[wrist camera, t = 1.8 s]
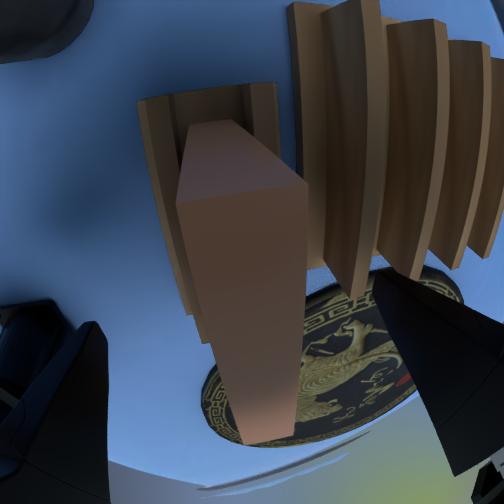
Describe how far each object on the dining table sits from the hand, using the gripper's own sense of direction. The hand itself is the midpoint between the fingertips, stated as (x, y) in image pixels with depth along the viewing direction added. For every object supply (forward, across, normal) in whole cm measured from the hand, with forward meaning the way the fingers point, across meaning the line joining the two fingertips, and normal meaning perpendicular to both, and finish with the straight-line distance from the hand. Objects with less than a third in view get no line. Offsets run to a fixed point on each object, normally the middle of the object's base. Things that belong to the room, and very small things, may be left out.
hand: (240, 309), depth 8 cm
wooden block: (+6, 0, 0) cm, 6 cm away
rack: (+7, -11, -3) cm, 14 cm away
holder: (+7, 0, 0) cm, 7 cm away
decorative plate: (+8, -10, +21) cm, 25 cm away
